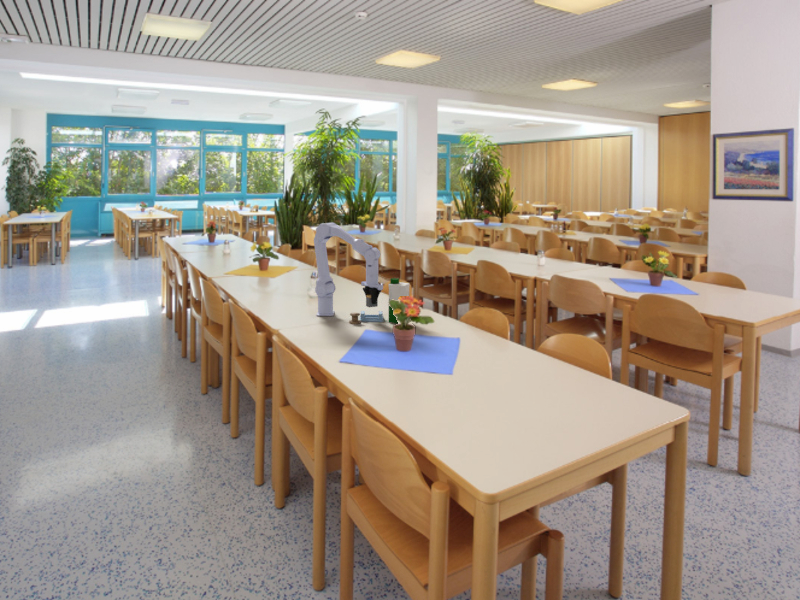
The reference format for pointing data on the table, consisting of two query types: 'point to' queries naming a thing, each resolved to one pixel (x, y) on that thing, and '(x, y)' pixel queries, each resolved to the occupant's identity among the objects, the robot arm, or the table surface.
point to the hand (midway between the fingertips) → (371, 303)
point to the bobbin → (354, 318)
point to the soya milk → (396, 294)
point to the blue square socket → (371, 317)
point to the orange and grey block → (370, 302)
